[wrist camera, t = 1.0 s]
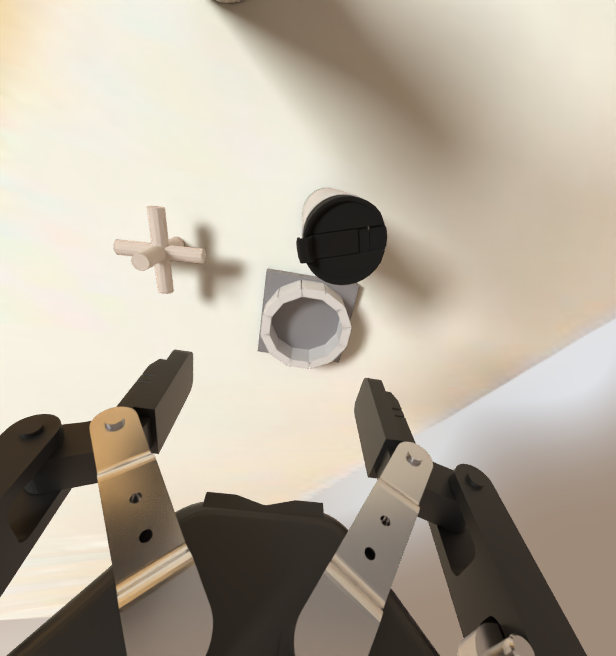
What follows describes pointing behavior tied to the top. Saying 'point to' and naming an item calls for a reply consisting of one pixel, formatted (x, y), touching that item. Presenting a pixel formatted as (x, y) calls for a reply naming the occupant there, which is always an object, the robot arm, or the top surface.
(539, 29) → the top surface
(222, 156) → the top surface
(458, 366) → the top surface
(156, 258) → the pipe connector
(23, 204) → the top surface
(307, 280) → the duct collar
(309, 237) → the travel mug
